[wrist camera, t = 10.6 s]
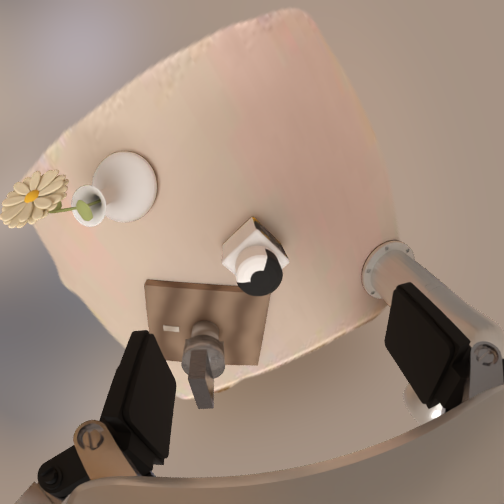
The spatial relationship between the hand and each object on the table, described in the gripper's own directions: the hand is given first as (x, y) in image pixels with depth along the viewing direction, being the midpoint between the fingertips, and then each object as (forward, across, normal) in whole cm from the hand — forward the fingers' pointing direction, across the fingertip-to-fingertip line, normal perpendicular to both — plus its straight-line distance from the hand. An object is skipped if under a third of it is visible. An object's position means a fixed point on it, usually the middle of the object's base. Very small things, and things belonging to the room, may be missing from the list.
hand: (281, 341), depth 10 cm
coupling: (+27, +10, +26) cm, 39 cm away
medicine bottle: (+35, -1, +10) cm, 36 cm away
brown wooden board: (+35, +10, +25) cm, 44 cm away
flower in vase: (+35, +18, -4) cm, 40 cm away
